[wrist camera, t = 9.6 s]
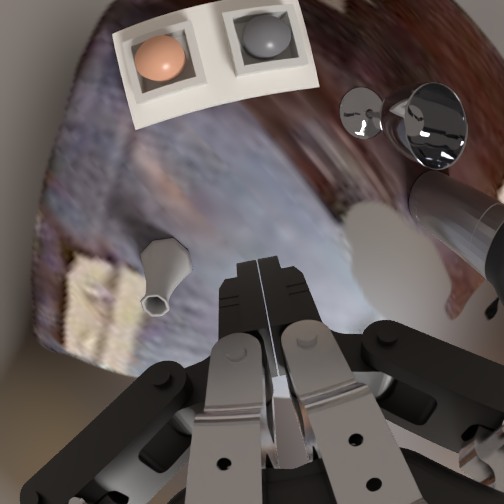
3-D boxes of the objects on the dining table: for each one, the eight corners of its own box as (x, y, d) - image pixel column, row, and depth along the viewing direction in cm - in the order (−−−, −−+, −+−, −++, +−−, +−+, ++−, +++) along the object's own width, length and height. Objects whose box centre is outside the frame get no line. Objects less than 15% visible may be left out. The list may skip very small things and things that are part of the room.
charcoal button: (278, 20, 22) (285, 12, 20) (288, 56, 25) (295, 52, 22) (237, 26, 22) (239, 18, 20) (246, 63, 25) (249, 58, 22)
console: (287, 2, 24) (301, -16, 19) (308, 88, 30) (327, 85, 25) (122, 40, 24) (104, 29, 19) (144, 127, 30) (128, 132, 25)
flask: (132, 250, 38) (111, 292, 29) (176, 228, 37) (164, 268, 28) (158, 289, 41) (147, 336, 32) (201, 270, 41) (198, 317, 32)
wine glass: (343, 147, 34) (410, 177, 21) (330, 88, 30) (398, 83, 17) (393, 137, 34) (469, 163, 21) (383, 81, 30) (462, 82, 17)
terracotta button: (181, 36, 22) (177, 29, 19) (190, 74, 24) (187, 70, 21) (138, 50, 22) (130, 45, 19) (148, 88, 24) (140, 86, 21)
